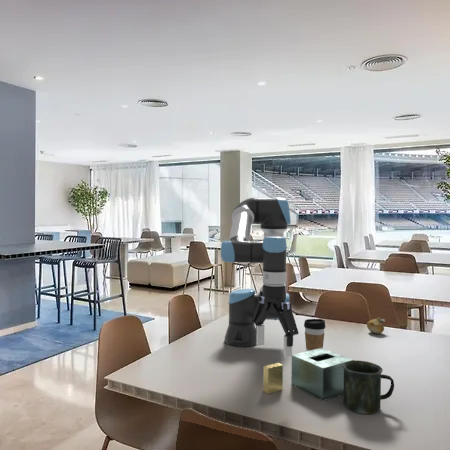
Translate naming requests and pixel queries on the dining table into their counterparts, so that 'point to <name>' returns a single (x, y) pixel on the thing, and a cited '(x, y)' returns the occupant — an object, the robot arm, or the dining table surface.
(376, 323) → the onion
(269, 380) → the tan rectangular block
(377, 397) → the mug
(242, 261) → the robot arm
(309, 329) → the coffee cup
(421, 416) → the dining table surface
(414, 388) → the dining table surface
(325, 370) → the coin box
